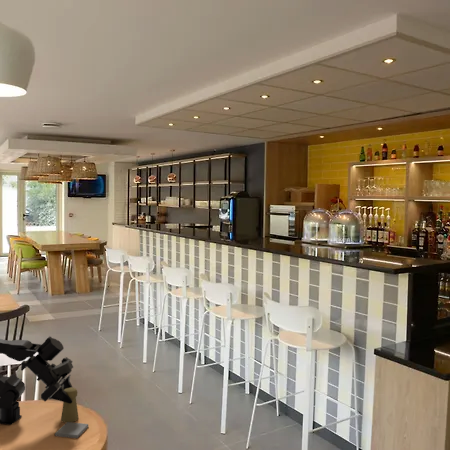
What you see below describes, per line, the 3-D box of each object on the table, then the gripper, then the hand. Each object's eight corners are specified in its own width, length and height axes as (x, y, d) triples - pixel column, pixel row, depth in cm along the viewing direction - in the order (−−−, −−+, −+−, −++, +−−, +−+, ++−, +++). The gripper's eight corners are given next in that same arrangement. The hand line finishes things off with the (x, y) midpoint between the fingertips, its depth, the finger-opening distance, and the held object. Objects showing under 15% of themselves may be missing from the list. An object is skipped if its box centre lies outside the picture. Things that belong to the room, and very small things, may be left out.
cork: (72, 423, 162) (73, 393, 161) (57, 421, 163) (57, 391, 162) (81, 415, 167) (81, 386, 167) (66, 414, 169) (66, 384, 168)
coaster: (55, 436, 153) (55, 433, 153) (67, 424, 161) (67, 421, 161) (77, 438, 152) (77, 435, 152) (88, 426, 160) (88, 424, 160)
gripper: (50, 362, 154) (83, 394, 156) (66, 345, 173) (95, 374, 174) (26, 385, 154) (59, 417, 156) (44, 366, 173) (74, 394, 174)
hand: (73, 399), depth 165 cm, fingers closed on cork, 5 cm apart
